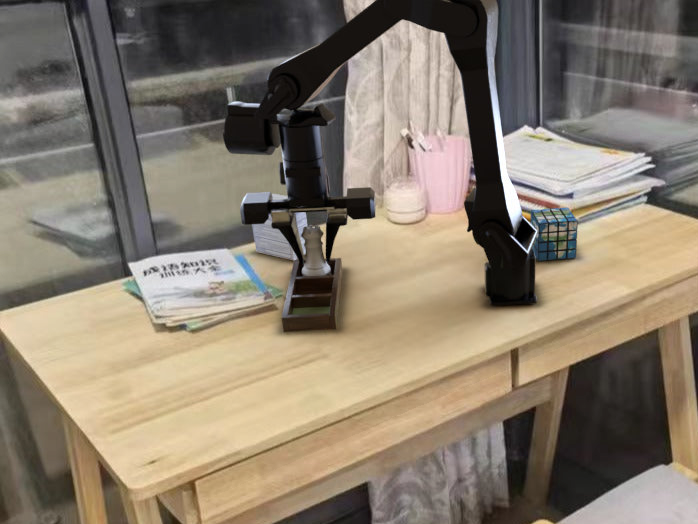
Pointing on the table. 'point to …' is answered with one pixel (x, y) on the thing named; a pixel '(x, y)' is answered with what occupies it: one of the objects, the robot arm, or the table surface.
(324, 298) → the tray
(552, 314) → the table surface
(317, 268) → the rook chess piece
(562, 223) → the puzzle
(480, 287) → the table surface
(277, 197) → the medicine box
